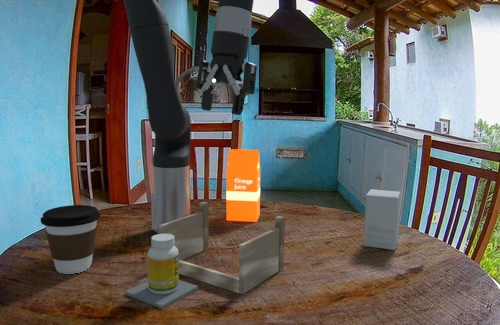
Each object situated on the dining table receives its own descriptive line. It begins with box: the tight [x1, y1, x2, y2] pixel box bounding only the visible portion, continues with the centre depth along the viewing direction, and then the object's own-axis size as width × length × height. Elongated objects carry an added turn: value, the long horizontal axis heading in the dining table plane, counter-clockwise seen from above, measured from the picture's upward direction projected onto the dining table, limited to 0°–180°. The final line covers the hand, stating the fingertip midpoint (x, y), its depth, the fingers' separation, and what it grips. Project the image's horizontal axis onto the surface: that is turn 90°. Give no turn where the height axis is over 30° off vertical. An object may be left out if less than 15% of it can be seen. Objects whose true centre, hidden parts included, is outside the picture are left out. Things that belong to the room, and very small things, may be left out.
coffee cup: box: [40, 204, 101, 275], centre depth 85 cm, size 11×11×12 cm
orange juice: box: [225, 148, 261, 223], centre depth 123 cm, size 8×9×20 cm
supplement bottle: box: [147, 233, 180, 295], centre depth 75 cm, size 5×5×10 cm
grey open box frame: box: [159, 201, 286, 295], centre depth 86 cm, size 21×14×11 cm, turn 56°
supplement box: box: [363, 188, 402, 251], centre depth 102 cm, size 7×7×13 cm
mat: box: [124, 279, 199, 310], centre depth 76 cm, size 9×9×1 cm
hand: (220, 112), depth 89 cm, fingers open, 8 cm apart
